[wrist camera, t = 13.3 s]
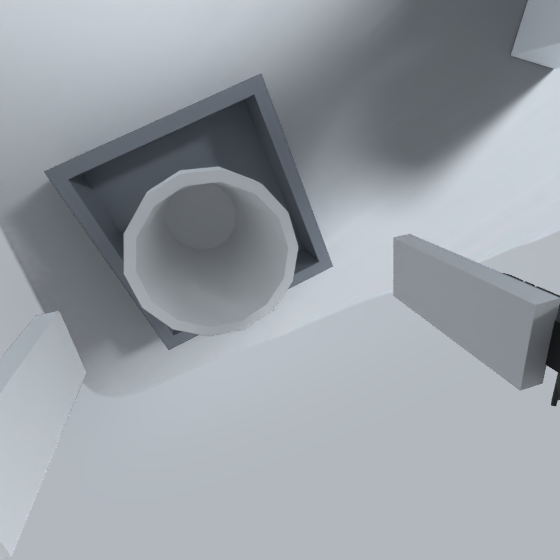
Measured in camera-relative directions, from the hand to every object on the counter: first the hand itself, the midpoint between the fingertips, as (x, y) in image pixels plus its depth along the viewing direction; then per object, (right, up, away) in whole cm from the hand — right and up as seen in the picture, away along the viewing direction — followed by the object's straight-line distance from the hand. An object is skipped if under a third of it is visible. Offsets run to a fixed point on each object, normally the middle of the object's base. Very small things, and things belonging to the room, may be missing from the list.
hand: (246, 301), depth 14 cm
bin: (-5, +7, +18) cm, 20 cm away
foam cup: (-6, +7, +17) cm, 19 cm away
